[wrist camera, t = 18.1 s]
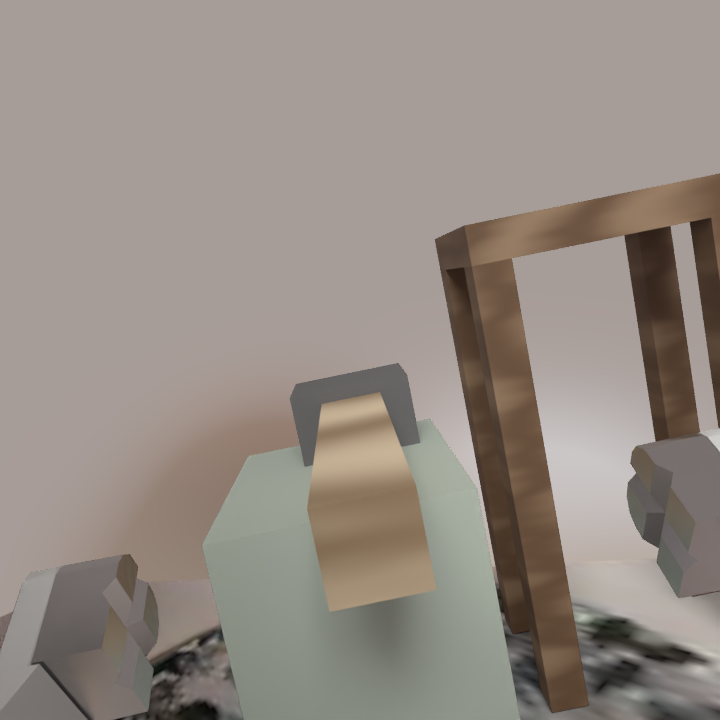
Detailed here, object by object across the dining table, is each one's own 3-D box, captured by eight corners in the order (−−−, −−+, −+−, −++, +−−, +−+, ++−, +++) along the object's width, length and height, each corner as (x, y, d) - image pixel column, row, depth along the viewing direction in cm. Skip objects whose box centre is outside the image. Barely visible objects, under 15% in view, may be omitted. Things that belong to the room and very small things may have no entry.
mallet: (490, 578, 15) (466, 453, 15) (276, 623, 15) (247, 499, 15) (410, 423, 32) (398, 363, 32) (308, 444, 32) (296, 384, 32)
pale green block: (312, 1006, 23) (201, 545, 21) (321, 774, 34) (248, 456, 32) (564, 952, 23) (477, 488, 21) (492, 739, 34) (430, 418, 32)
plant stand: (552, 712, 35) (464, 225, 32) (505, 618, 45) (434, 239, 42) (808, 659, 35) (745, 168, 32) (705, 576, 45) (650, 195, 42)
